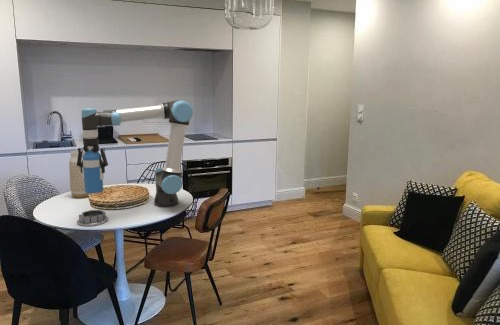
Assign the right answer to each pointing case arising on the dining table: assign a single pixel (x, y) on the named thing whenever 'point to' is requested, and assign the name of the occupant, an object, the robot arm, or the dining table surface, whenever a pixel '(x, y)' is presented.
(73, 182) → the vase
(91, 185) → the water bottle
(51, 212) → the dining table surface
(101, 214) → the grey gear
